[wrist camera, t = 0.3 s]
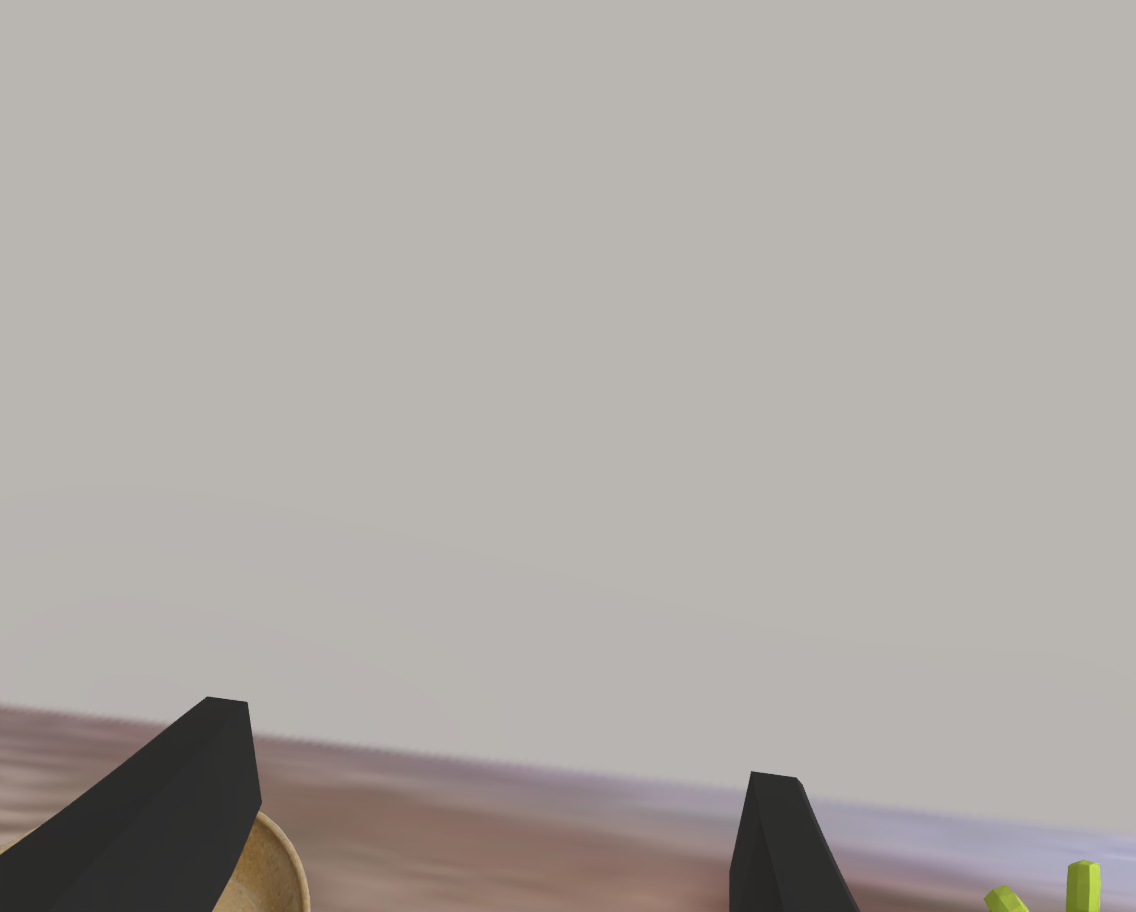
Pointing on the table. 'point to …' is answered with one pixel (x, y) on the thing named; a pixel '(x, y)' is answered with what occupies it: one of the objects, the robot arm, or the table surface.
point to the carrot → (1079, 891)
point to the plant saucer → (260, 873)
